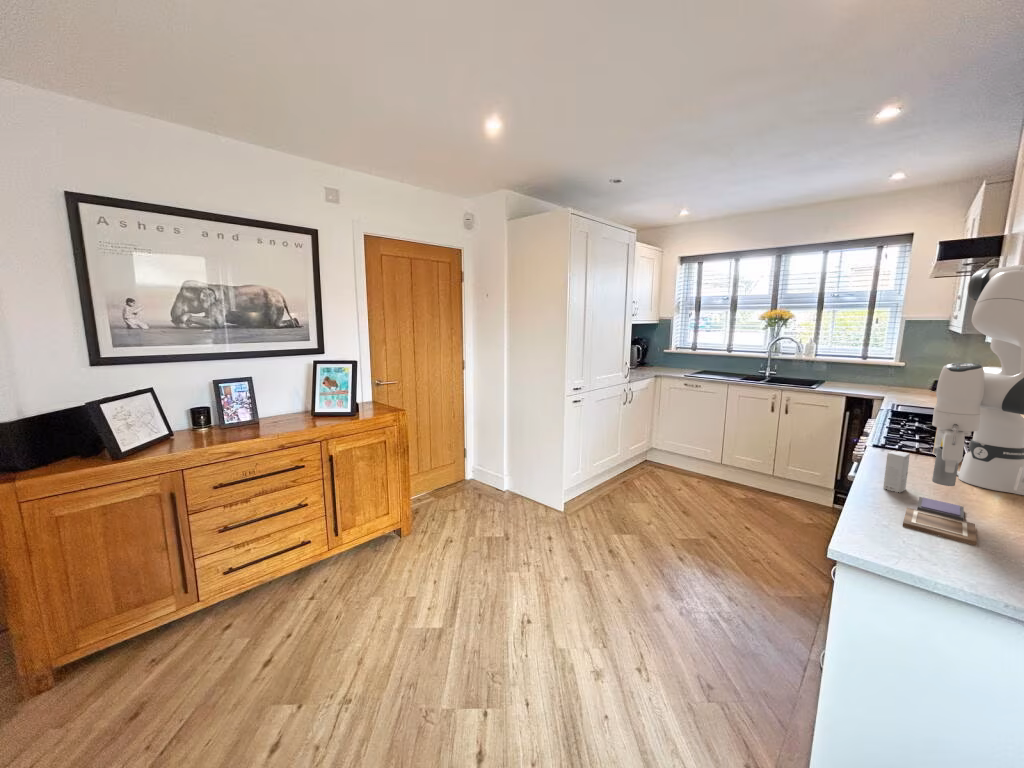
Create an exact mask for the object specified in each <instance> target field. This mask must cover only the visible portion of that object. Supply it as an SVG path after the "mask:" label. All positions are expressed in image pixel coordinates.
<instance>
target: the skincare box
mask: <svg viewBox="0 0 1024 768" xmlns="http://www.w3.org/2000/svg"><path fill="white" fill-rule="evenodd" d="M910 455H911V454H910V452H905V451H904V452H903V451H900V450H899V451H898V450H892V451H889V452H888V453H887V456H886V464H885V472H884V480H883V486H882V487H883V489H884V490H886V489H887V491H890V490H891V492H893V491H895V492H894V493H898V492H899V493H903V492H904V491H905V490H906V488H907V482H908V480H907V479H908V473H909V463H910ZM903 490H904V491H903Z"/></svg>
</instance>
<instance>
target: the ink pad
mask: <svg viewBox="0 0 1024 768" xmlns="http://www.w3.org/2000/svg"><path fill="white" fill-rule="evenodd" d="M916 510H920V511H924V512H928V513H932V514H936V515H940V516H945V517H949V518H953V519H957V520H961V521H965V520H964V519H965V512H964V505H963V506H961V505H960V504H956V503H955V504H954V503H949V502H945V501H941V500H937V499H932V498H927V497H922V496H919V498H918V502H917V507H916Z"/></svg>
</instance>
